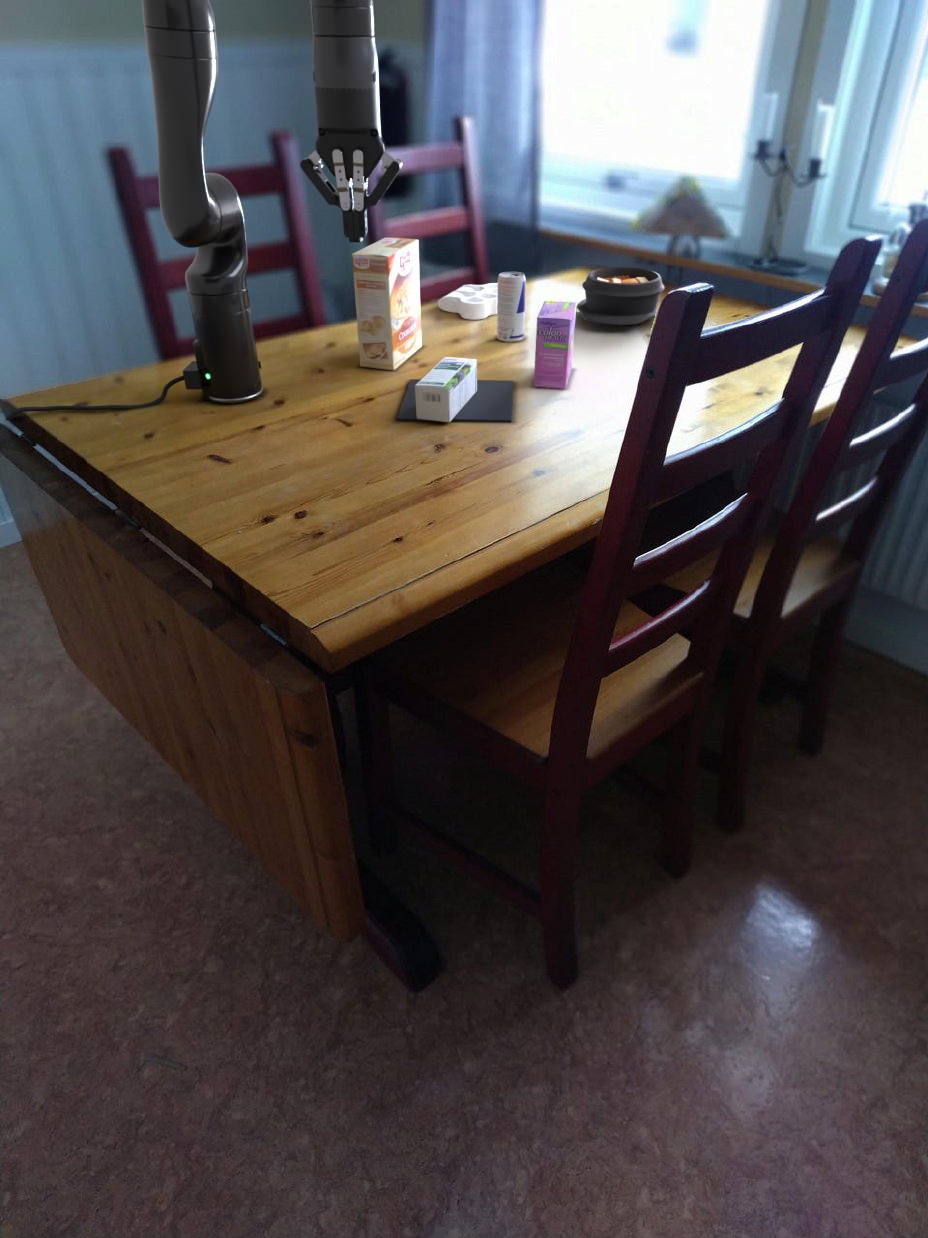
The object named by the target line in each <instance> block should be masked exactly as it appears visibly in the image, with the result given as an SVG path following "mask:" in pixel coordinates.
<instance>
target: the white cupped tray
mask: <svg viewBox="0 0 928 1238" xmlns="http://www.w3.org/2000/svg"><path fill="white" fill-rule="evenodd" d="M497 294H498V282H491V283H485V284H463V285H462V286H460V287H458V288H457V289H455V290H453V291H451V292H449V293H448V294H447V295H444V296H442V297H441V298H439V299H437V306H438V308H439V309H440V310H442V311H445V312H448V313H454V314H459V315H460V317H461V318H463V319H466V320H472V321H473V320H475V321H476V320H485V319H486V318H487V317H489V316H495V315H496V316H497Z"/></svg>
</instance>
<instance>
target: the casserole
mask: <svg viewBox="0 0 928 1238" xmlns="http://www.w3.org/2000/svg"><path fill="white" fill-rule="evenodd" d="M581 287H582V289H583V290H584V292H585V298H584V299H583V300H580V301H579V302H578V303H577V305H576V310H578V311H579V312H580V313H581V314H582V318H583V319H584V320H586V321H589V322H592V323H597V324H602V325H603V324H605V325H615V326H632V325H633V326H634V325H639V324H641V323H643V322H645V321H647V320H650V319H654V318H656V317H655V313H656V309H657V306H658V304H659V302H660V297H661V293H662V292H663V291H664V290H665V288H666V286H665V284H664V283H663V281H662V276H661V275H660V274H659V273H657V272H656V271H653V270H651V269H645V268H639V267H630V266H629V267H628V266H626V267H625V266H616V267H615V266H614V267H613V266H612V267H604V268H598V269H595V270H592V271H590V272H588V274H587V276H586V278H585V280H584V281H583V282H582V284H581Z"/></svg>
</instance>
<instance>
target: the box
mask: <svg viewBox="0 0 928 1238" xmlns="http://www.w3.org/2000/svg"><path fill="white" fill-rule="evenodd" d="M577 305H578V303H577V302H574V301H563V300H562V301H561V300H559V301H558V300H544V301H543V303H542V305H541V308H540V310H539V313H538V315H537V317H536V332H535V349H534V371H533V372H534V373H533V387H535V388H545V389H558V390H559V389H561V390H566V388H567V386H568V383H569V382H568V381H569V378H570V375H571V373H572V369H573V357H574V356H573V353H574V339H575V327H576V316H577Z"/></svg>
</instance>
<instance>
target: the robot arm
mask: <svg viewBox="0 0 928 1238" xmlns="http://www.w3.org/2000/svg"><path fill="white" fill-rule="evenodd" d="M309 1H310V2H309V3H310V18H311V26H312V27H311V30H312V80H313V83H314V95H315V108H316V121H317V131H318V132H317V138H316V141H315V143H314V144H315V145H314V148H315V150H313V152H312V153H310V154H309V155H308V156H307V157H305V158H303V159H302V160H300V163H299V167H300V169H301V170H302V171H303V173H304V174H305V175H306V177H307V178H308V180H310V182H311V183H312V185H313V186H314V187H315V188H316V190H317V192H318V193H319V194H320V195H321V196H322V198H323V199H324V200H325V202H326V203H327V204H328V205H330V206H333V205H334V206H336V207H338V208H340V210H341V213H342V225H343V226H342V227H343V234H344V237H345V238H348V242H349V243H356V244H357V243H359V244H361V243H362V242H363V241H364V239H365V238H366V237H367V235H368V233H369V231H368V229H369V228H368V213H367V212H368V208H371V207H374V206H377V204H378V203H379V202H380V201H381V200H382V198H383V197H384V196H385V194H386V192H387V191H388V189H389V188H390V186H391V185H392V184H393V182H394V180H395V179H396V178H397V176H398V174H399V173H400V171H402V168H403V161H402V160H401V159H399V158H395V157H394V156H393V155H392V154H390V152H388V151H387V146H386V142H385V140H384V139H383V135H382V126H381V107H380V106H381V105H380V104H381V102H380V78H379V77H380V76H379V58H378V52H377V46H376V37H375V34H376V33H375V12H374V11H375V10H374V0H309ZM141 8H142V9H141V10H142V19H143V20H142V21H143V30H144V38H145V45H146V52H147V60H148V64H149V72H150V73H149V74H150V77H151V89H152V100H153V108H154V110H153V111H154V121H155V129H156V142H157V144H156V145H157V167H158V168H157V169H158V197H159V208H160V212H161V217H162V221H163V223H164V226H165V228H166V230H167V232H168V233H169V235H170V236H171V238H172V239H173V240H174V241H175V242H176V243H177V244H179V245H180V246H182V247H184V248H189V249H196V253H195V256H194V258H193V261H192V263H191V264H190V265H189V267H188V268H187V269H186V270H185V274H184V280H185V285H186V291H187V295H188V302H189V306H190V312H191V317H192V322H193V327H194V334H195V338H196V339H195V340H194V341H193V342H192V348H193V353H194V357H195V360H194V361H193V360H192V361H191V362H190V363H189V364H188V365H187V366H185V368H183V370H182V375H181V376H178V377H175V378H173V379H172V380H170V381H168V382H167V383H166V384H165V385H164V386H163V388H162V392H161V394H160V396H159V397H157V398H156V399H154V400H152V401H150V402H149V401H148V402H146V403H141V404H105V405H103V404H102V405H51V406H50V405H47V406H22V407H18V408H15V409H13V410H12V411H11V412H10V413H8V415H7V416H6V418H5V421H11V420H13V419H14V418H15V417H16V416H18V415H19V414H22V413H25V412H54V411H55V412H56V411H78V412H79V411H80V412H81V411H84V412H87V411H89V412H90V411H91V412H92V411H94V412H97V411H111V410H112V411H113V410H114V411H115V410H119V411H120V410H121V411H123V410H124V411H125V410H134V409H140V408H146V407H153V406H156V405H158V404H161V403H162V402H164V401H165V399H166V398H167V395H168V392H169V389H170V388H172V386H174V385H176V384H178V383H180V382H183V381H184V386H185V389H186V390H195V391H196V390H201V394H202V400H203V401H211V402H214V403H217V404H239V403H245V402H250V401H253V400H255V399H257V398H259V397H261V396H262V395H263V394H264V387H263V383H262V382H263V381H262V377H261V370H262V364H261V363H262V362H261V361H260V360H259V356H258V348H257V343H256V337H255V330H254V323H253V316H252V310H251V303H250V296H249V290H248V284H247V283H248V282H247V272H248V268H249V252H248V241H247V232H246V231H247V230H246V221H245V216H244V215H245V214H244V208H243V206H242V202H241V199H240V196H239V194H238V191H237V190H236V189H237V188H235V187H234V185H233V184H232V182H231V181H230V180H229V179H228V178H227V177H225V176H223V175H221V174H219V173H217V172H206V169H205V157H204V155H205V154H204V151H205V150H204V146H205V145H204V143H205V134H206V128H207V126H208V121H209V117H210V113H211V110H212V106H213V103H214V99H215V95H216V92H217V86H218V83H219V82H218V81H219V72H220V67H219V66H220V63H219V50H218V38H217V31H216V30H217V27H216V18H215V12H214V10H213V7H212V5H211V2H210V0H141ZM380 162H382V163H381V166H380V171H381V173H382V174H383V175H382V177H380V179H379V181H378V183H377V184H376V186H375V187H374V189H373V190H372V191H371V193H369V194H368V187H369V178H370V177H371V176H372V175H373V173H374V171H375V170H376V168H377V166H378V164H379V163H380ZM324 165H325V166H326V168H327V169H328V170H329V172H330V173H331V175H332V176H333V177H334V178H335V180H336V182H335V183H336V187H337V189H336V188H335V186H334V185H333V184H332V182H331V181H330V180H329V178H328V176H327V175H326V174H325V173H324V171H323V169H324Z"/></svg>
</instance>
